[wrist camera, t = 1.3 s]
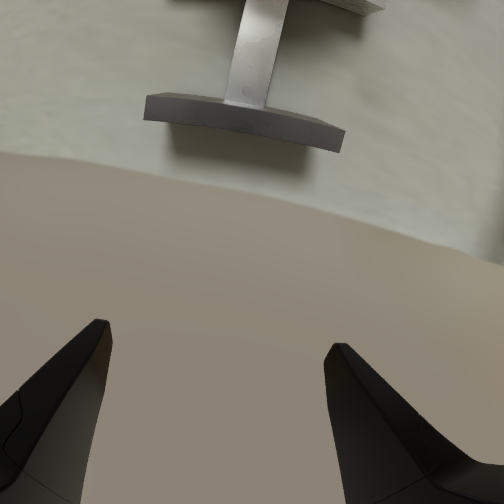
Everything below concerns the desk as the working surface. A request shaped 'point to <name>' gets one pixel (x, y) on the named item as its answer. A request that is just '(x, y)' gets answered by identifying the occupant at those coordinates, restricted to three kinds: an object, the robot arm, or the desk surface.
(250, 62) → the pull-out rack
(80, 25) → the desk surface
